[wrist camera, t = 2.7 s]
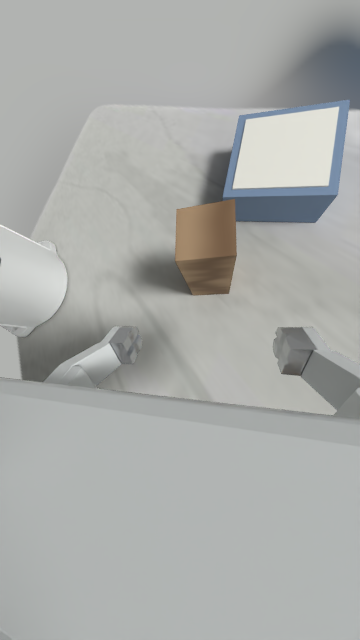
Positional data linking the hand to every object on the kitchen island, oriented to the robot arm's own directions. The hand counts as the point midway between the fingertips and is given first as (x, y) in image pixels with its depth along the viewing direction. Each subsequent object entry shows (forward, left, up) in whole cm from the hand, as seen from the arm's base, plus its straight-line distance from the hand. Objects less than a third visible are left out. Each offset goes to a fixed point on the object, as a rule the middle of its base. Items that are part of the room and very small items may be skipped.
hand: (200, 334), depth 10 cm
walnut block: (-2, +9, -13) cm, 16 cm away
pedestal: (+4, +24, -13) cm, 27 cm away
